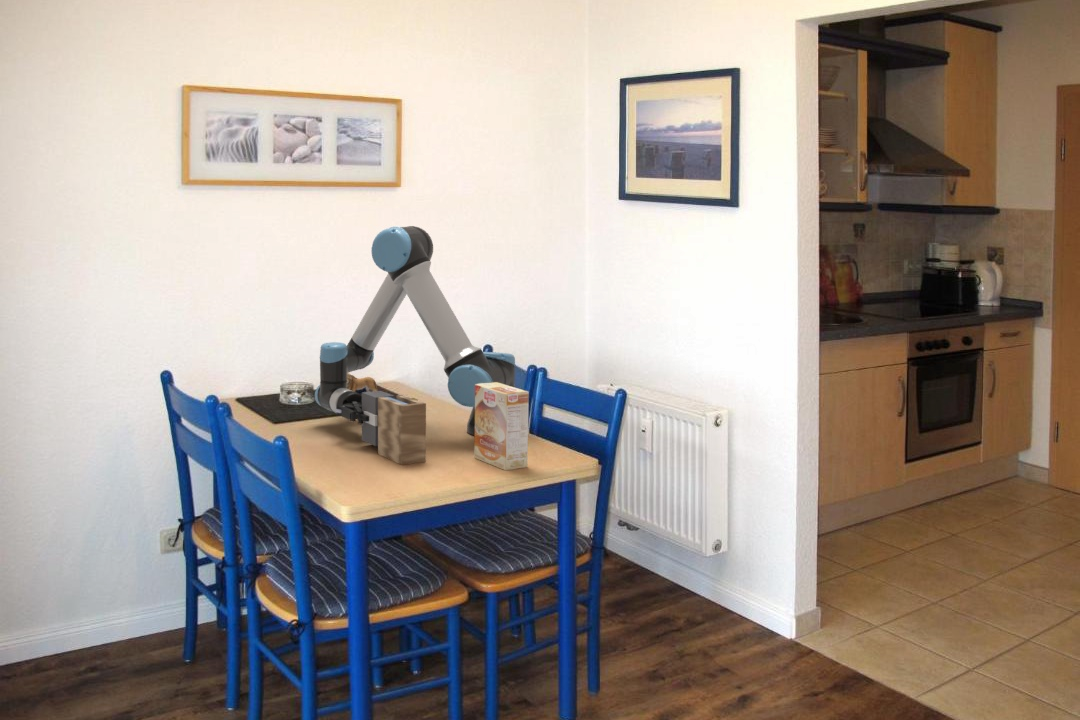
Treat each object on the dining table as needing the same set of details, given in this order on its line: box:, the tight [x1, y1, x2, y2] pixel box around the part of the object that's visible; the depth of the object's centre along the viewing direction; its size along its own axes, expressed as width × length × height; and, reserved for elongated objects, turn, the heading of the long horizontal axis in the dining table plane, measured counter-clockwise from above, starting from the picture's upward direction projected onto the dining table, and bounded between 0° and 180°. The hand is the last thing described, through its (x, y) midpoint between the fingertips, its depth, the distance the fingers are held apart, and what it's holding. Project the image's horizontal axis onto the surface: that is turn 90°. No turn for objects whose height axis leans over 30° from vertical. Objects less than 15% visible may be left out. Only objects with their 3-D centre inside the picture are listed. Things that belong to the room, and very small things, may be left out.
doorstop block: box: [361, 390, 395, 447], centre depth 288 cm, size 8×6×13 cm
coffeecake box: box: [473, 382, 530, 471], centre depth 274 cm, size 15×7×20 cm, turn 35°
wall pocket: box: [377, 394, 427, 466], centre depth 277 cm, size 13×7×15 cm, turn 36°
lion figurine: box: [347, 372, 378, 392], centre depth 354 cm, size 15×5×9 cm, turn 129°
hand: (387, 419), depth 283 cm, fingers closed on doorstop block, 5 cm apart
